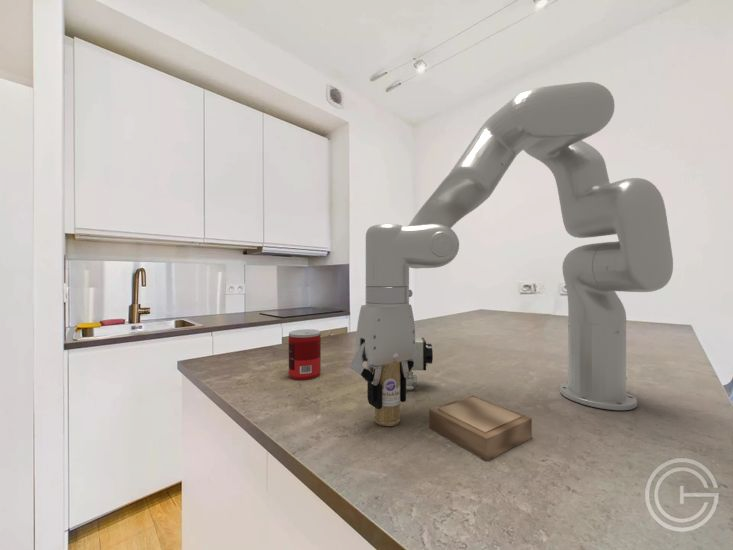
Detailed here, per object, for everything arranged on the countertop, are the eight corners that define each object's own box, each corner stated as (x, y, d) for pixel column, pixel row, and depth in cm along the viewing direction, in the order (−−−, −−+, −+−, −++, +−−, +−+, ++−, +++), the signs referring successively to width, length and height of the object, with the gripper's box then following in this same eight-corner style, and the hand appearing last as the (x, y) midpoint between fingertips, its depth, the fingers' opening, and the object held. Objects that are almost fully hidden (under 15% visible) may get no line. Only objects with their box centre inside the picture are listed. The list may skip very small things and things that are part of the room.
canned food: (326, 373, 79) (326, 330, 79) (304, 382, 72) (304, 336, 72) (304, 368, 83) (304, 328, 83) (282, 377, 76) (282, 332, 76)
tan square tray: (472, 411, 57) (472, 394, 57) (531, 438, 48) (531, 417, 48) (429, 427, 51) (429, 407, 51) (486, 461, 42) (486, 437, 42)
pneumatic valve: (432, 392, 66) (432, 336, 66) (378, 391, 67) (378, 336, 67) (429, 383, 72) (429, 332, 72) (379, 382, 73) (379, 331, 73)
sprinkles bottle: (381, 429, 50) (382, 347, 50) (369, 418, 54) (370, 341, 54) (405, 424, 52) (405, 344, 52) (392, 413, 56) (392, 339, 56)
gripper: (410, 294, 61) (410, 386, 61) (333, 297, 52) (333, 406, 52) (438, 296, 55) (438, 399, 55) (356, 300, 46) (356, 424, 46)
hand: (387, 401), depth 53 cm, fingers closed on sprinkles bottle, 4 cm apart
